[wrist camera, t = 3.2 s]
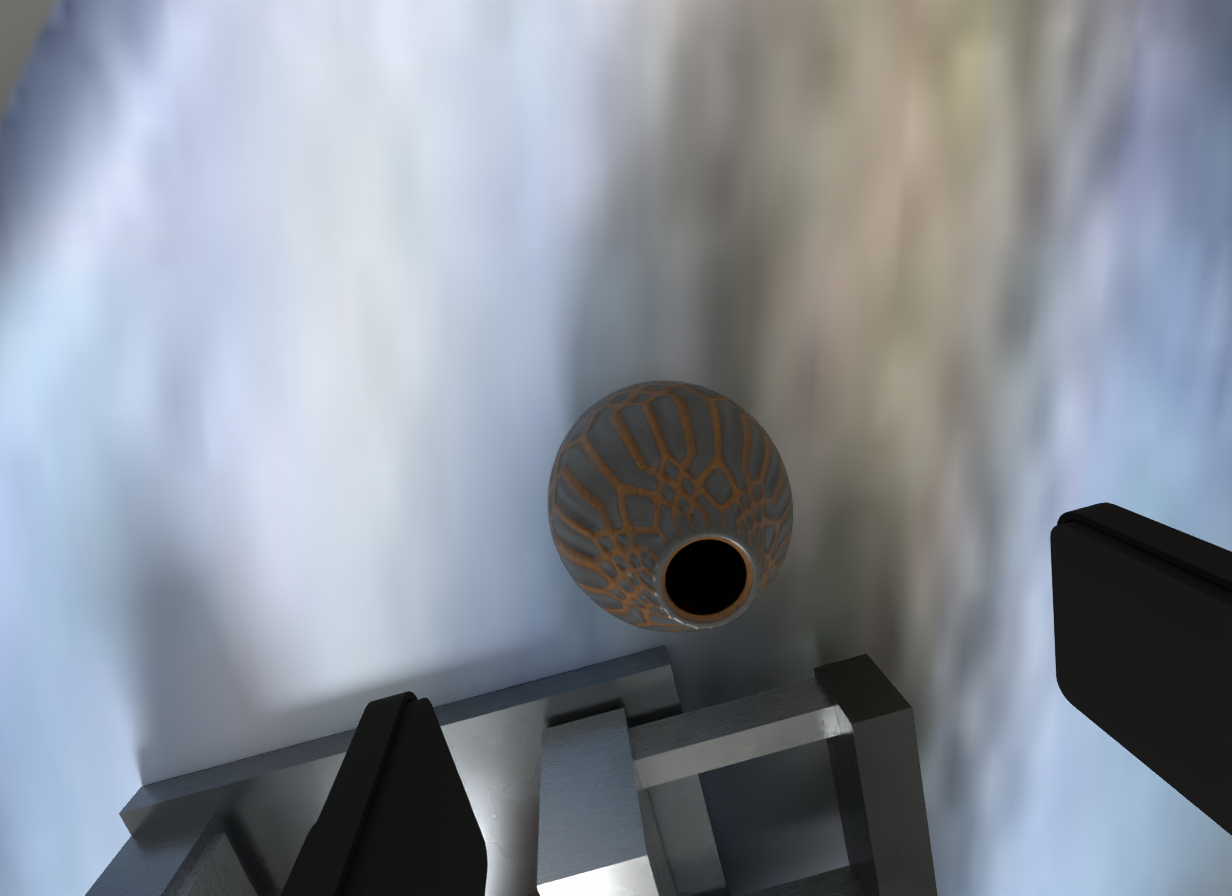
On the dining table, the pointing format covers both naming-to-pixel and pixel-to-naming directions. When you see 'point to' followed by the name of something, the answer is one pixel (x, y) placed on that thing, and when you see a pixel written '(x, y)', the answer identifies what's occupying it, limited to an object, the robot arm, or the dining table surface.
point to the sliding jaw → (723, 735)
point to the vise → (486, 762)
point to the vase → (670, 506)
